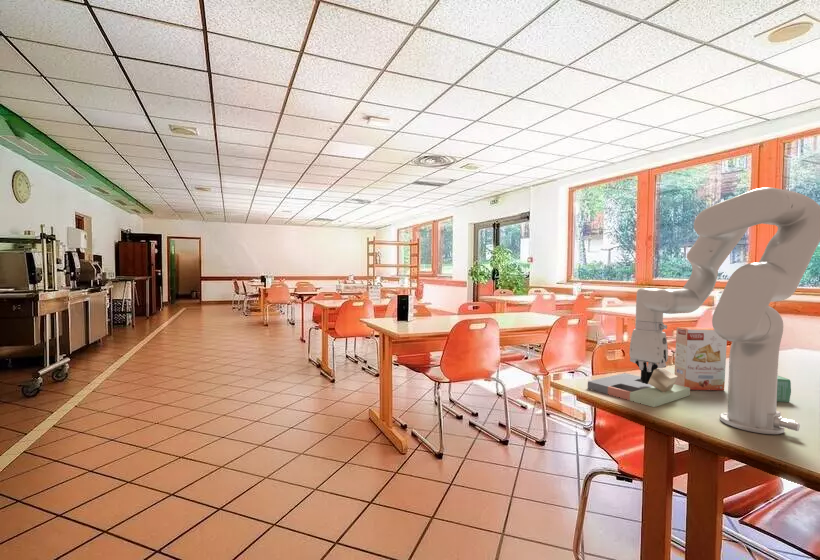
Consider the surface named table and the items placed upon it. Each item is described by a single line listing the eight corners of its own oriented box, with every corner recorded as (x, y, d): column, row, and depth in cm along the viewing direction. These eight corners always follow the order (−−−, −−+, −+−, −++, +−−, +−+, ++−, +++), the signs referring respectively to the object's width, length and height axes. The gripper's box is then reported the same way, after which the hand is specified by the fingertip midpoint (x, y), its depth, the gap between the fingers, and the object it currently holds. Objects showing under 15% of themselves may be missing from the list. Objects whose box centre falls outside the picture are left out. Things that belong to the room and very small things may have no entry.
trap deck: (689, 395, 127) (690, 387, 127) (653, 407, 115) (654, 398, 114) (624, 379, 145) (624, 373, 145) (587, 388, 132) (587, 381, 132)
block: (671, 389, 124) (677, 376, 122) (664, 392, 121) (670, 378, 120) (655, 381, 128) (661, 367, 126) (647, 383, 125) (654, 369, 123)
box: (791, 402, 122) (792, 378, 122) (743, 400, 124) (744, 376, 124) (773, 395, 129) (773, 373, 129) (727, 393, 131) (728, 371, 131)
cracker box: (685, 390, 132) (687, 328, 132) (673, 385, 138) (675, 326, 138) (726, 391, 133) (728, 329, 133) (711, 386, 139) (713, 327, 139)
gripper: (680, 329, 123) (677, 387, 123) (631, 323, 135) (629, 376, 136) (668, 330, 119) (666, 390, 119) (619, 324, 131) (617, 378, 132)
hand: (646, 382), depth 127 cm, fingers closed
